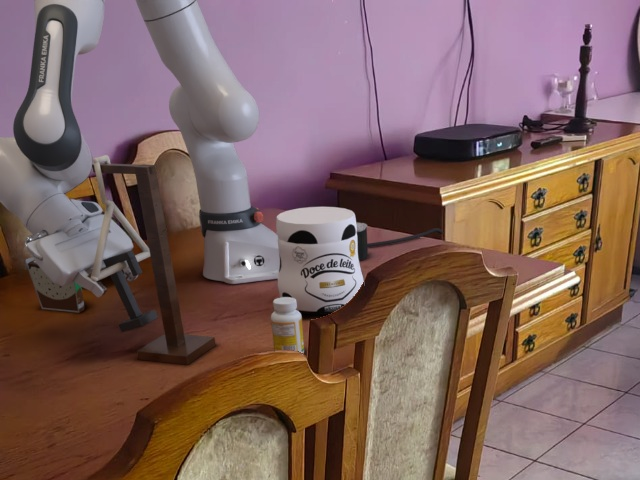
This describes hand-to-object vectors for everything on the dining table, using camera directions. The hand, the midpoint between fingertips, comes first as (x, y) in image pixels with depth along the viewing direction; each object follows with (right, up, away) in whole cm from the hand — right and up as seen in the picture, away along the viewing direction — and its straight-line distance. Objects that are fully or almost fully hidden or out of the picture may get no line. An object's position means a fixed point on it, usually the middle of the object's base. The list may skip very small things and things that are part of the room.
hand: (119, 286), depth 148 cm
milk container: (+34, +3, +23) cm, 41 cm away
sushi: (+37, +24, +55) cm, 71 cm away
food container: (-20, +4, +28) cm, 34 cm away
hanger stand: (+7, -11, +4) cm, 13 cm away
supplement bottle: (+30, -12, +2) cm, 32 cm away
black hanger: (+4, -6, +2) cm, 7 cm away
